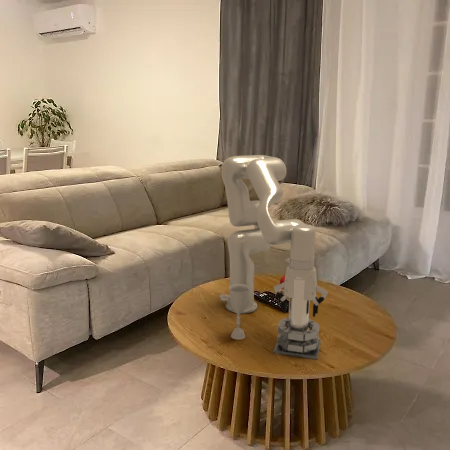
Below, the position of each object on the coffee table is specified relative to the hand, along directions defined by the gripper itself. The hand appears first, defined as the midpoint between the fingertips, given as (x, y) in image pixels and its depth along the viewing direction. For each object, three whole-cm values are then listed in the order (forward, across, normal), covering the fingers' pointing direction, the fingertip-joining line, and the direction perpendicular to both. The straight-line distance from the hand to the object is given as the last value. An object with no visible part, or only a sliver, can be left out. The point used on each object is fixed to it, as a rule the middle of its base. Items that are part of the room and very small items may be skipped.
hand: (299, 313), depth 153 cm
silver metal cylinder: (+12, 0, 0) cm, 12 cm away
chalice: (+12, -21, +2) cm, 25 cm away
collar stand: (+12, 0, 0) cm, 12 cm away
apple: (+13, -12, +51) cm, 54 cm away
